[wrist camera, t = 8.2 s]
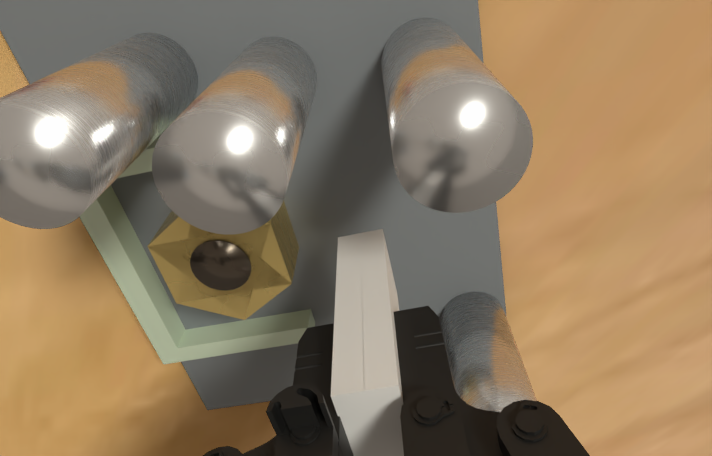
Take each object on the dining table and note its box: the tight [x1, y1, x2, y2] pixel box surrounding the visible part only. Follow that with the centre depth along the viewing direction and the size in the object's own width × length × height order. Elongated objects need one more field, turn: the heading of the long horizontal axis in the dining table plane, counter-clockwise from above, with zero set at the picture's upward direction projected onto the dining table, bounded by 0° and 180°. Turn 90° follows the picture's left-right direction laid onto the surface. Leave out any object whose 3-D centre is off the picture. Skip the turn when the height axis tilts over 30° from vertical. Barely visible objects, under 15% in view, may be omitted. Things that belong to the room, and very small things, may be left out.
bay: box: [79, 137, 315, 364], centre depth 20 cm, size 7×10×1 cm
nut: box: [147, 200, 299, 320], centre depth 19 cm, size 5×5×3 cm
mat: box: [0, 0, 506, 410], centre depth 20 cm, size 16×20×1 cm
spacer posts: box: [0, 18, 537, 412], centre depth 17 cm, size 12×18×8 cm
